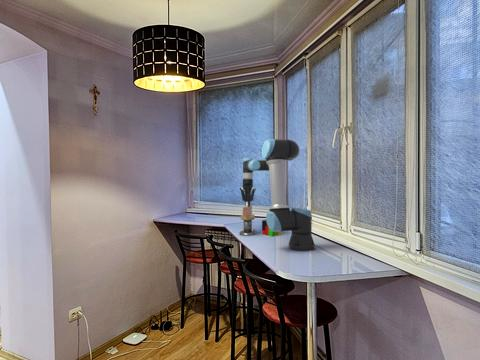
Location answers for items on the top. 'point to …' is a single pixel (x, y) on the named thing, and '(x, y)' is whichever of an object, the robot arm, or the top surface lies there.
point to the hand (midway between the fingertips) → (247, 210)
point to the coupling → (247, 213)
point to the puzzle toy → (268, 230)
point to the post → (247, 229)
